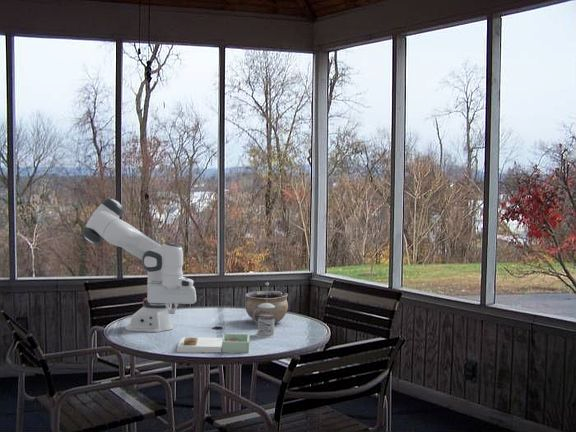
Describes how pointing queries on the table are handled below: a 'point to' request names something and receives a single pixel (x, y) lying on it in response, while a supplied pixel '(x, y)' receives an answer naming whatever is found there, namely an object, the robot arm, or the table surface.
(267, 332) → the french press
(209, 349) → the white square board
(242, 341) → the tray
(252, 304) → the ceramic bowl
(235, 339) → the walnut tile
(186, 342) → the teak tile
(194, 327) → the table surface
